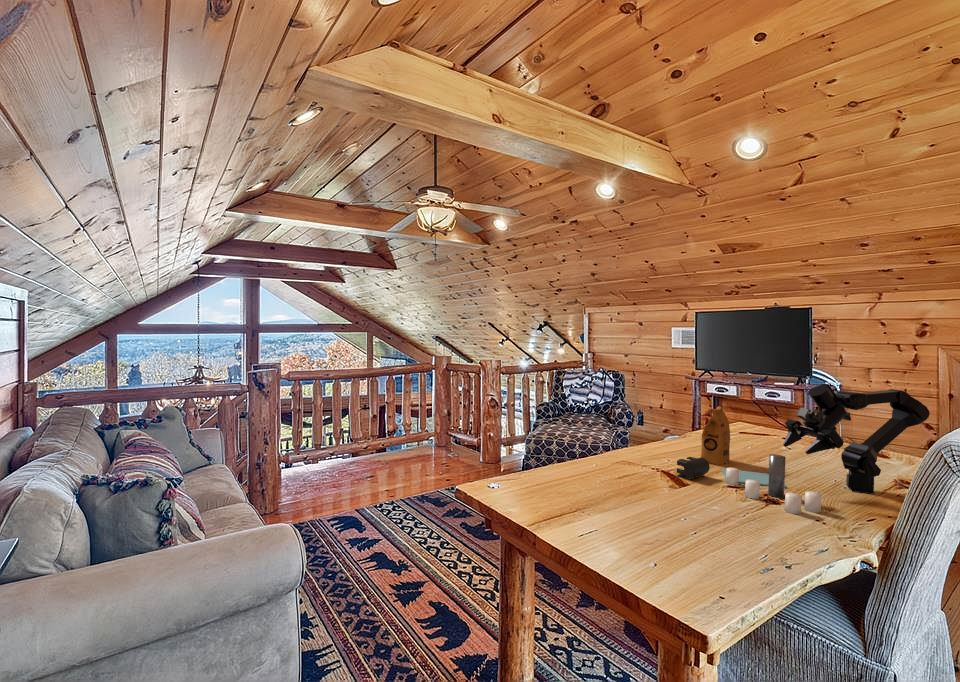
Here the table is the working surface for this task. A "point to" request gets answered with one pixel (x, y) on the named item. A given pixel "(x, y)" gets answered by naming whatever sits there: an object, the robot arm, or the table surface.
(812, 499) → the spacers
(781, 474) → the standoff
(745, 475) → the mat
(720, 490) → the table surface
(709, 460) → the coffee package
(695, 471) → the end cap
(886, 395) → the robot arm
